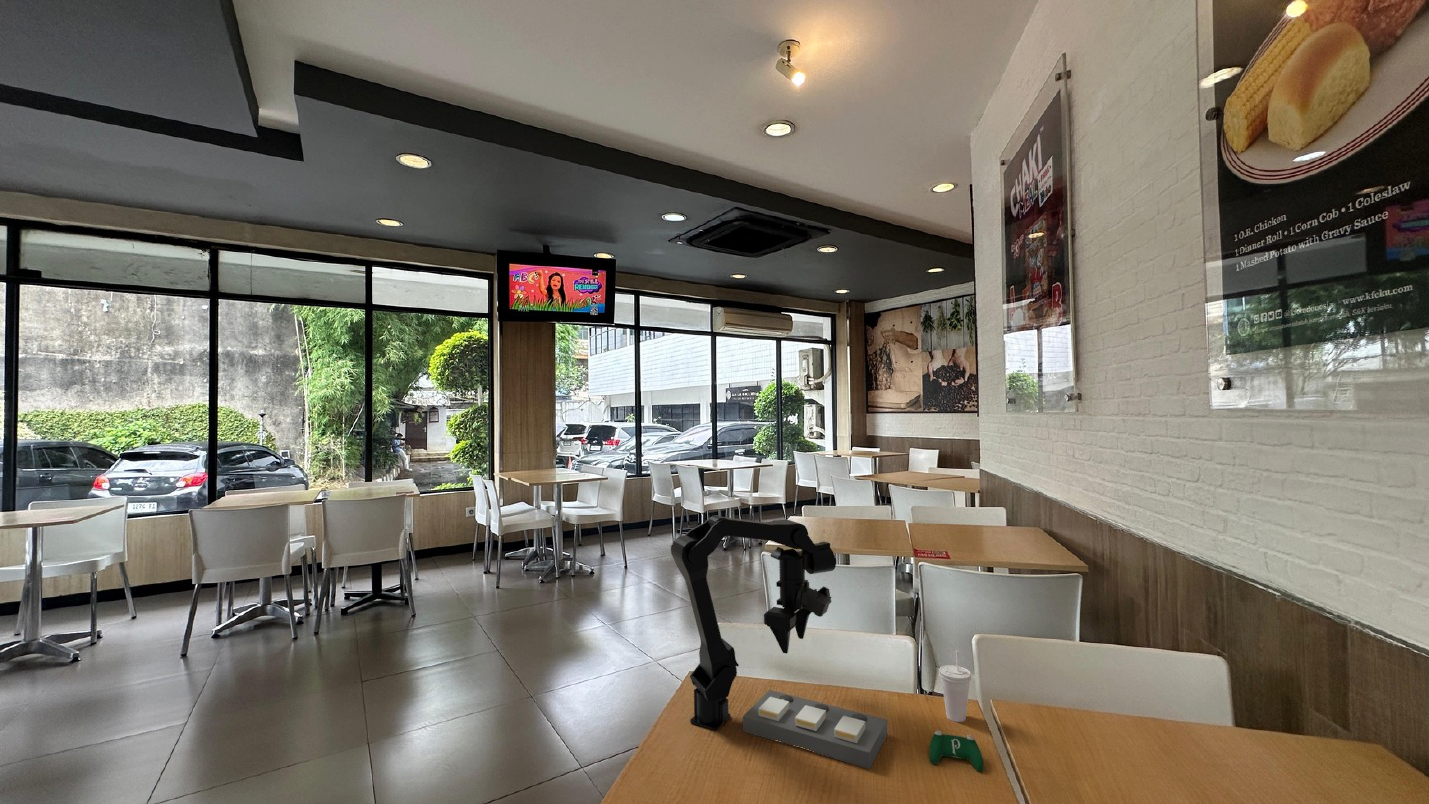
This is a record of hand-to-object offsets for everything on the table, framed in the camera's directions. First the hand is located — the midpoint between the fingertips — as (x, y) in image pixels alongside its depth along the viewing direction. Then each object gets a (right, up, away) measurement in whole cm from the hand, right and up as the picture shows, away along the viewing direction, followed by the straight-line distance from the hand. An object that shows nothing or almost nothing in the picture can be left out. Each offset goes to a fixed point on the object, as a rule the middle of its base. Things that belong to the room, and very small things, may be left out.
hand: (793, 645), depth 132 cm
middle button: (+1, -9, -16) cm, 18 cm away
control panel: (+2, -12, -14) cm, 19 cm away
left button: (-6, -9, -12) cm, 16 cm away
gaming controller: (+27, -12, -24) cm, 38 cm away
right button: (+8, -9, -20) cm, 23 cm away
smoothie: (+33, -12, -9) cm, 36 cm away
